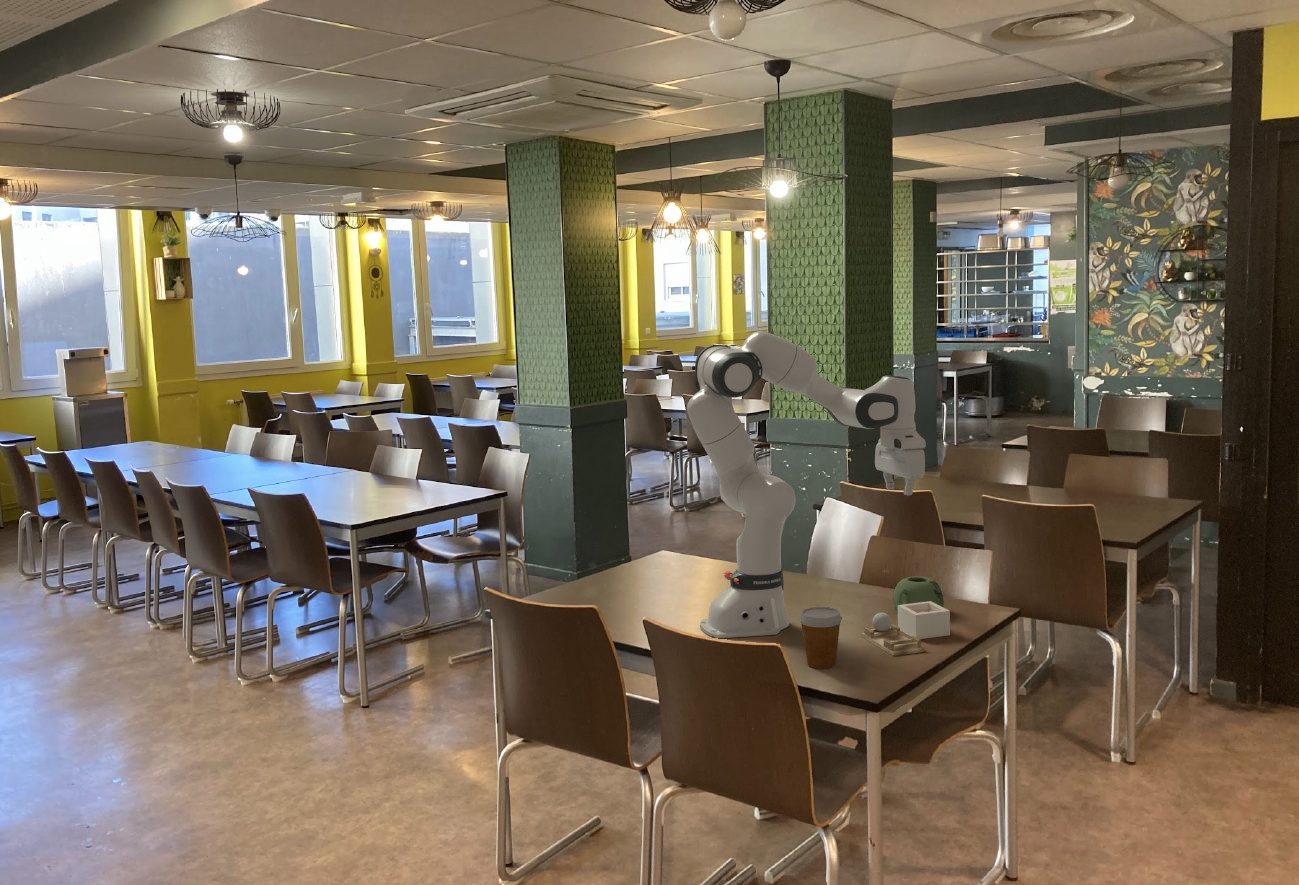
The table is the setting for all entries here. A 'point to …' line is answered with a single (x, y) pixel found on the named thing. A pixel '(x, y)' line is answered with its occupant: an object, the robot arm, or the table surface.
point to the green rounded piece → (917, 591)
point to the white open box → (924, 620)
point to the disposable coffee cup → (820, 635)
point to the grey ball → (882, 622)
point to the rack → (893, 641)
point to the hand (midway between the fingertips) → (899, 492)
